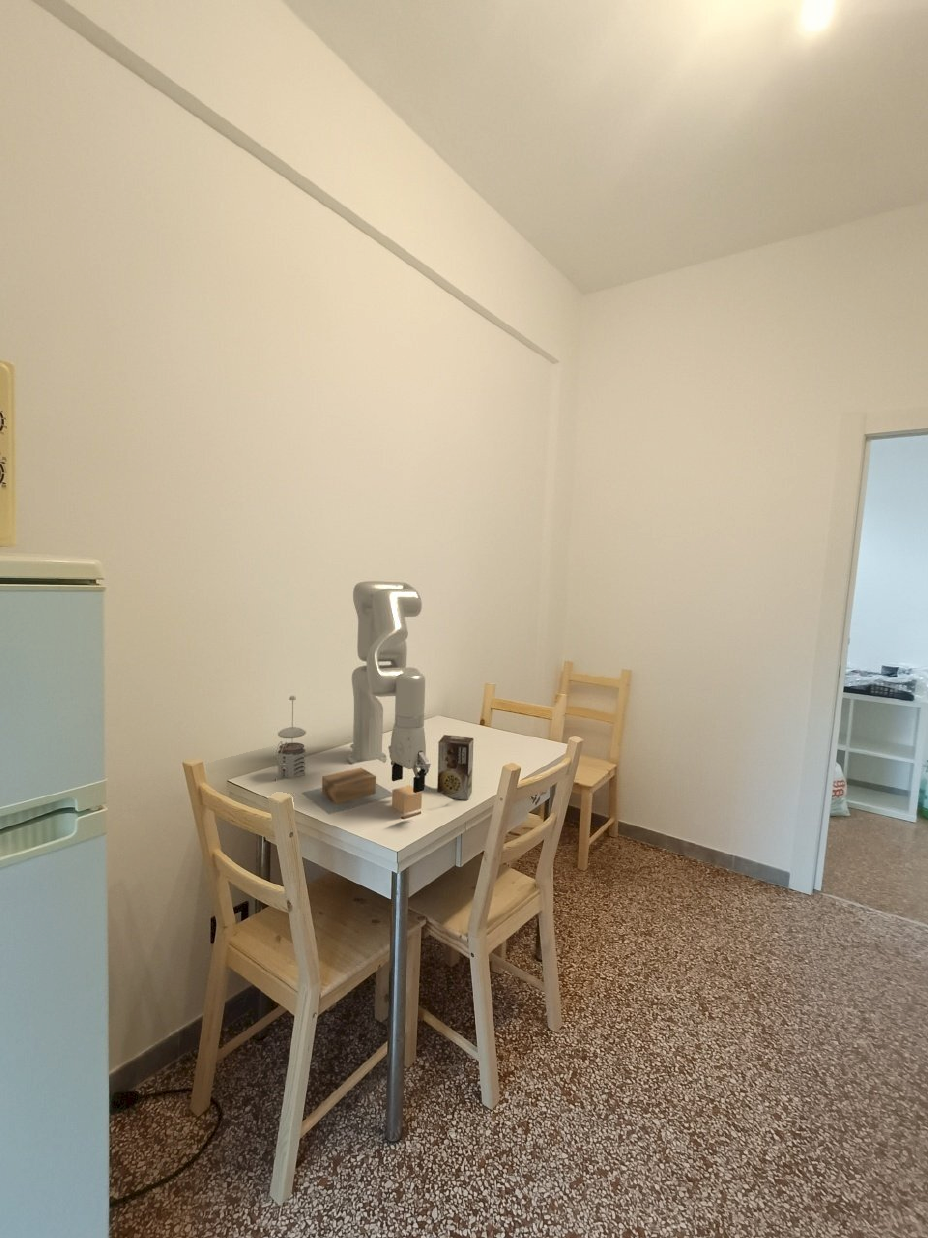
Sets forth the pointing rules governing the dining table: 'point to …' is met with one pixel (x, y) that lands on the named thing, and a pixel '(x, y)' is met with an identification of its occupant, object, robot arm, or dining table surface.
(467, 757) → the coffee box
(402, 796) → the peach cube
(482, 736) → the dining table surface
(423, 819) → the dining table surface
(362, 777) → the walnut brick
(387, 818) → the dining table surface
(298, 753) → the french press
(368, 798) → the base plate
